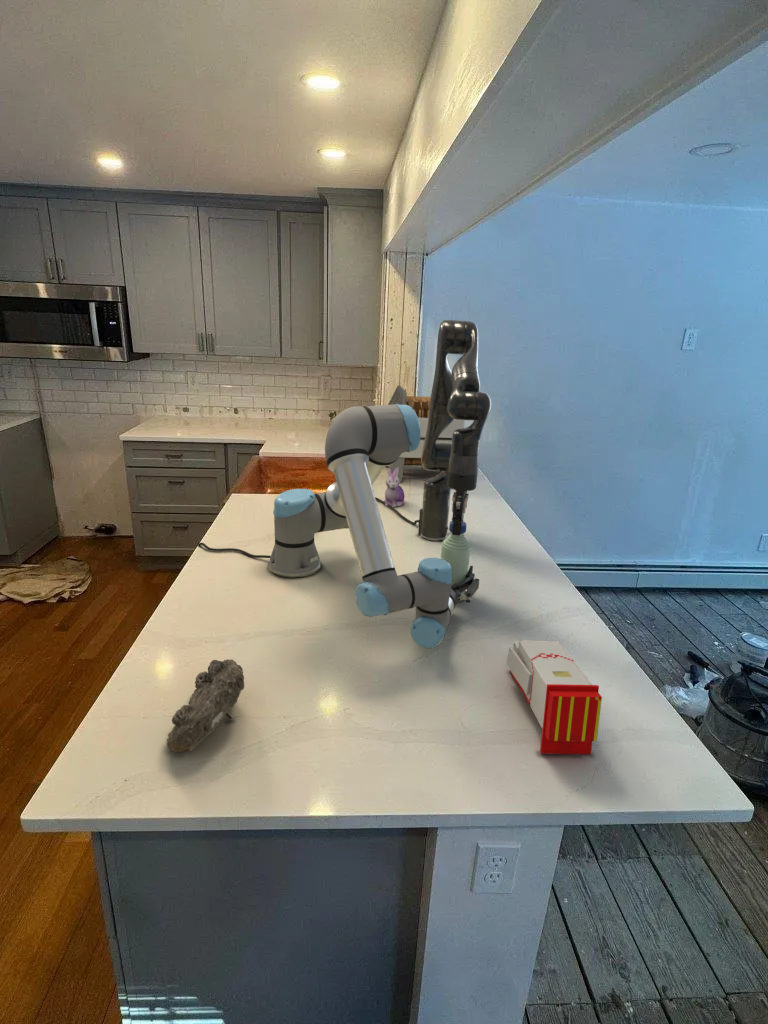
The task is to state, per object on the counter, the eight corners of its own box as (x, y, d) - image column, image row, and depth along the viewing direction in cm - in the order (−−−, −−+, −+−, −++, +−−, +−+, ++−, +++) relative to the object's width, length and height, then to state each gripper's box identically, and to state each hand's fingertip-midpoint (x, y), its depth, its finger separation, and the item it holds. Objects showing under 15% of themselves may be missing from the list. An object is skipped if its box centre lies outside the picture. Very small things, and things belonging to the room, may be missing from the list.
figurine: (389, 509, 224) (391, 472, 218) (377, 501, 232) (379, 465, 227) (410, 506, 228) (412, 470, 223) (398, 498, 236) (399, 463, 231)
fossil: (192, 660, 117) (244, 628, 112) (224, 691, 120) (276, 661, 115) (142, 746, 98) (202, 712, 93) (182, 779, 101) (242, 748, 96)
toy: (555, 623, 127) (611, 693, 98) (549, 678, 130) (602, 761, 101) (501, 622, 127) (542, 691, 98) (497, 677, 130) (535, 760, 100)
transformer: (382, 463, 289) (386, 382, 275) (445, 464, 293) (451, 384, 279) (390, 482, 257) (394, 392, 243) (460, 483, 261) (468, 394, 247)
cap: (458, 535, 149) (459, 527, 148) (445, 530, 152) (446, 522, 151) (469, 531, 152) (470, 524, 151) (456, 526, 155) (457, 519, 154)
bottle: (456, 587, 163) (463, 518, 156) (470, 599, 157) (478, 528, 149) (432, 591, 160) (438, 521, 153) (445, 603, 154) (452, 531, 147)
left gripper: (398, 610, 144) (420, 573, 165) (479, 625, 139) (491, 585, 159) (400, 583, 142) (422, 549, 162) (482, 598, 136) (494, 561, 157)
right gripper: (451, 461, 153) (446, 520, 159) (445, 475, 140) (440, 539, 146) (479, 464, 152) (473, 523, 158) (475, 478, 139) (469, 542, 145)
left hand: (456, 567), depth 161 cm, fingers closed on bottle, 8 cm apart
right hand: (457, 530), depth 152 cm, fingers open, 5 cm apart
